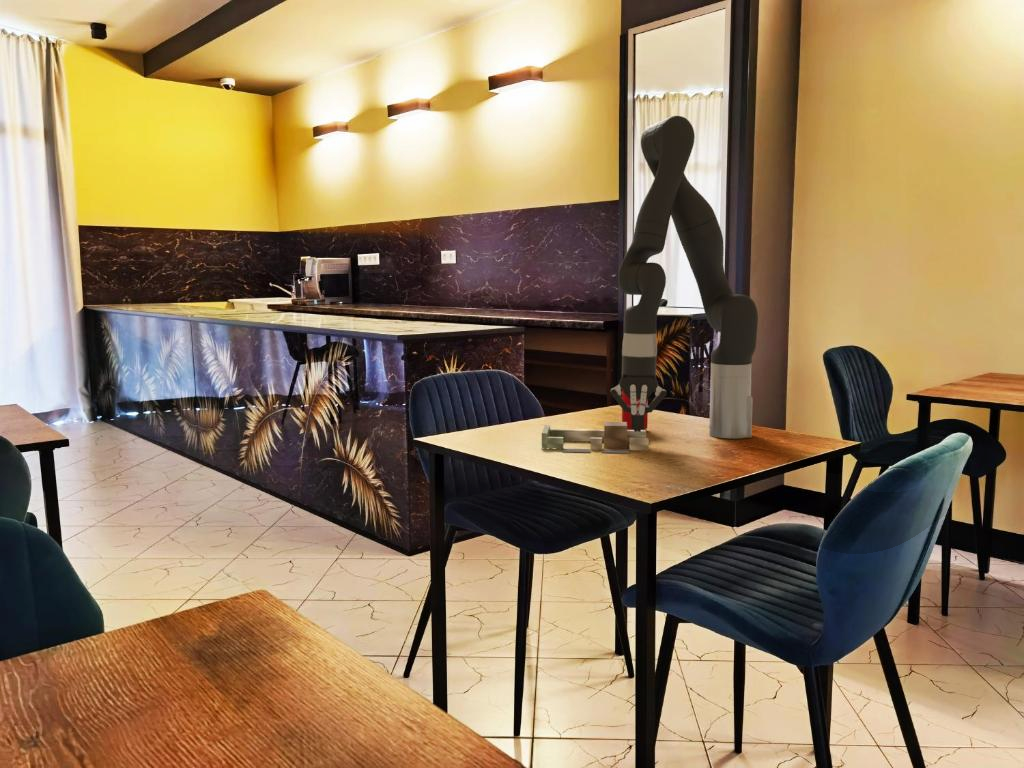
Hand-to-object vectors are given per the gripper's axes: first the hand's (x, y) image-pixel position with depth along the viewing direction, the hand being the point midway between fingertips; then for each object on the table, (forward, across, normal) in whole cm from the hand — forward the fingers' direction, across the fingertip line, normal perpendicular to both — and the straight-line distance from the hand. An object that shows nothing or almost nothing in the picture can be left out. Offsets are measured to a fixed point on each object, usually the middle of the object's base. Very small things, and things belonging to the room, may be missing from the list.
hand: (637, 430), depth 181 cm
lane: (+3, +9, 0) cm, 9 cm away
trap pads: (+3, +9, +7) cm, 12 cm away
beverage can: (+3, 0, -18) cm, 18 cm away
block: (+4, +5, 0) cm, 6 cm away
